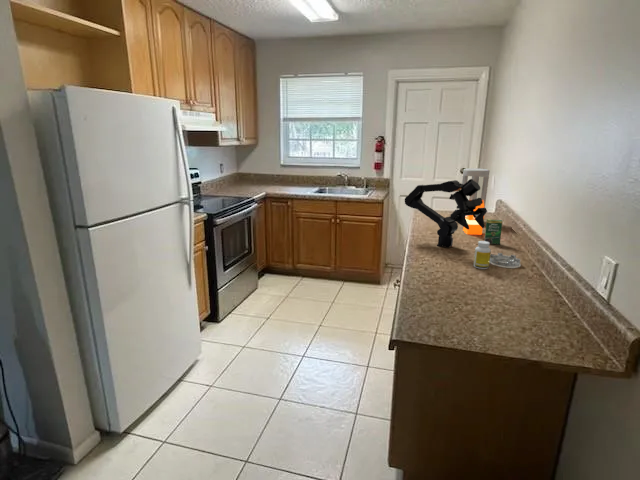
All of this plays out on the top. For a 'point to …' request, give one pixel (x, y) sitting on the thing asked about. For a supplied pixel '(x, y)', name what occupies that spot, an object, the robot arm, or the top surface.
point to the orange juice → (473, 223)
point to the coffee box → (493, 231)
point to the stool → (477, 180)
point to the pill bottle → (482, 255)
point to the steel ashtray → (504, 261)
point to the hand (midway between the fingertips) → (476, 228)
